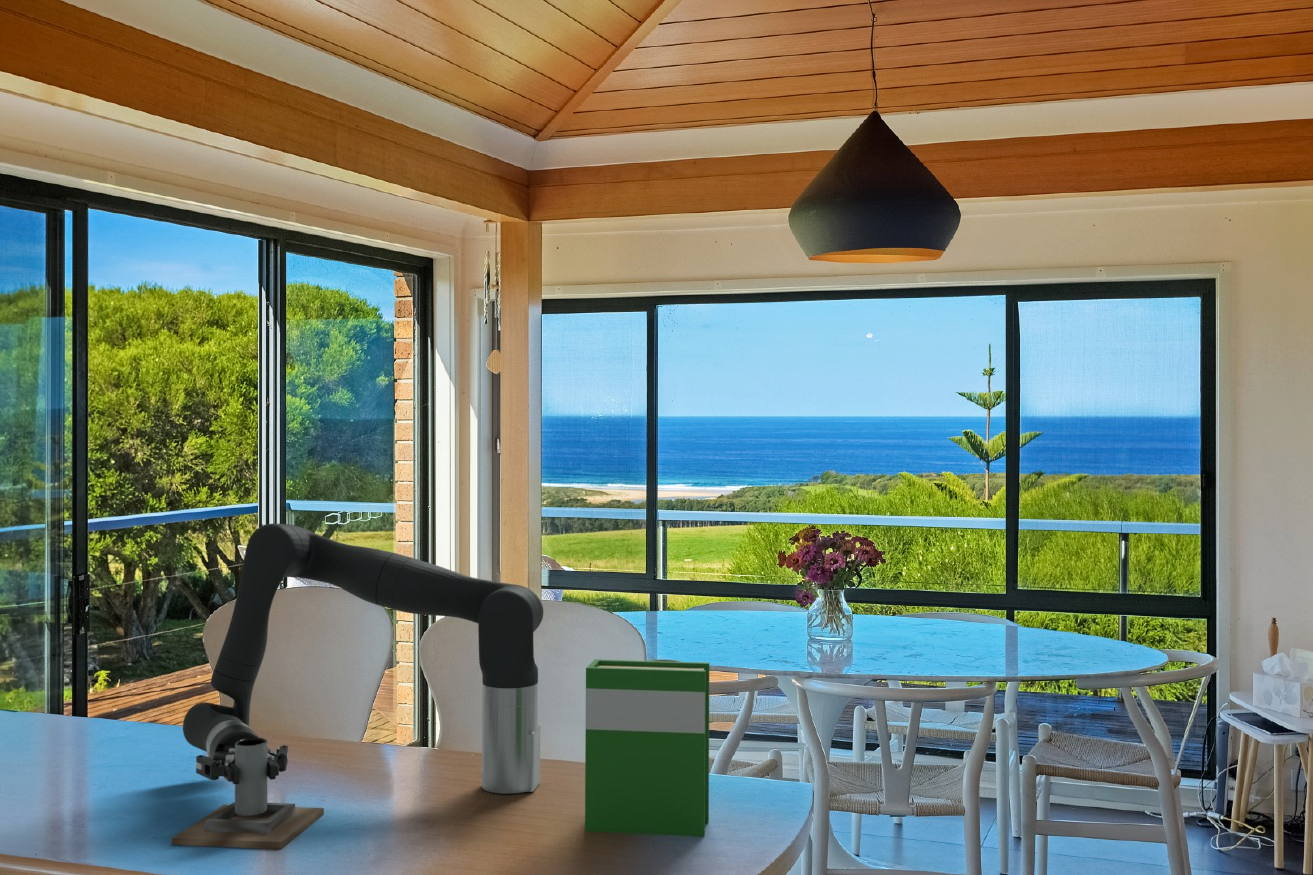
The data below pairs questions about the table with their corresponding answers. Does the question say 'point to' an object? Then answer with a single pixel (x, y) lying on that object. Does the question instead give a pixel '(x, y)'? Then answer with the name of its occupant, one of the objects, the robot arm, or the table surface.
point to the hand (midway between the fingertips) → (255, 774)
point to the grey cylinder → (251, 776)
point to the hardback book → (647, 747)
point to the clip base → (249, 827)
